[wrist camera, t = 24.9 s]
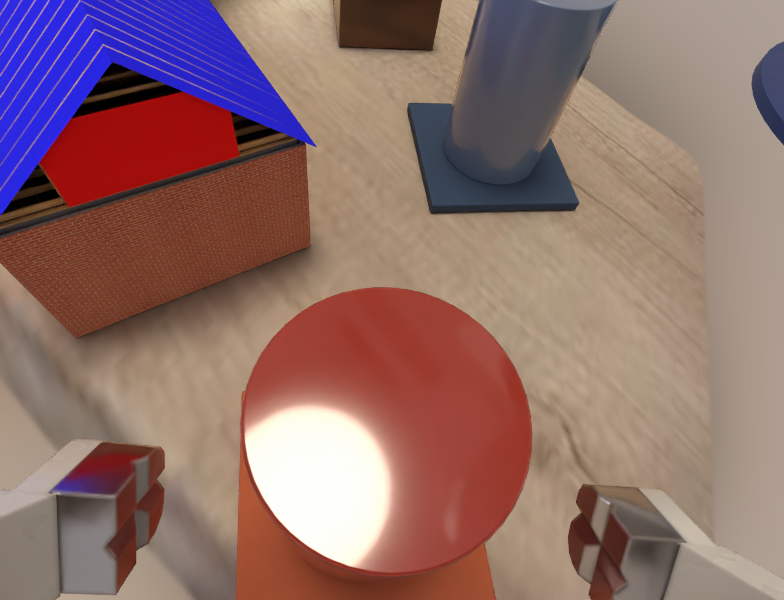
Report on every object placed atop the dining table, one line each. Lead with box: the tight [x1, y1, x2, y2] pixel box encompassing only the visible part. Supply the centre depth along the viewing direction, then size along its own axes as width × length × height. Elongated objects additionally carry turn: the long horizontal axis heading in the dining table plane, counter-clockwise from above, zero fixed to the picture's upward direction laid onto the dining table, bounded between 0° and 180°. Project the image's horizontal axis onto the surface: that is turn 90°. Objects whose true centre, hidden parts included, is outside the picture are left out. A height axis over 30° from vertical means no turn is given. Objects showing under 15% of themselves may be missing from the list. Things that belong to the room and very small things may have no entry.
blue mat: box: [407, 103, 579, 212], centre depth 30 cm, size 9×9×1 cm
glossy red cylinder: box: [240, 287, 532, 583], centre depth 14 cm, size 6×6×10 cm
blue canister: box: [443, 0, 618, 185], centre depth 25 cm, size 6×6×10 cm
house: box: [0, 0, 316, 338], centre depth 21 cm, size 12×20×12 cm, turn 32°
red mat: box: [236, 391, 496, 600], centre depth 18 cm, size 9×9×1 cm
